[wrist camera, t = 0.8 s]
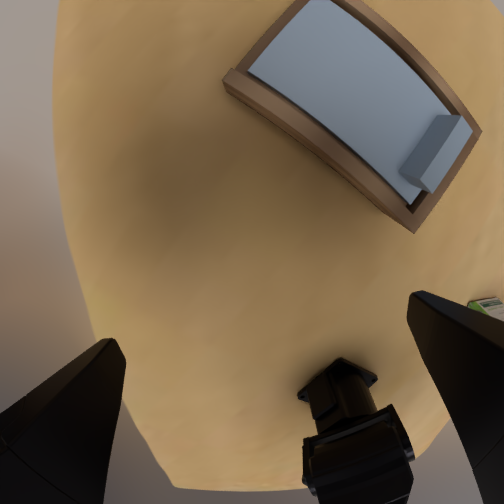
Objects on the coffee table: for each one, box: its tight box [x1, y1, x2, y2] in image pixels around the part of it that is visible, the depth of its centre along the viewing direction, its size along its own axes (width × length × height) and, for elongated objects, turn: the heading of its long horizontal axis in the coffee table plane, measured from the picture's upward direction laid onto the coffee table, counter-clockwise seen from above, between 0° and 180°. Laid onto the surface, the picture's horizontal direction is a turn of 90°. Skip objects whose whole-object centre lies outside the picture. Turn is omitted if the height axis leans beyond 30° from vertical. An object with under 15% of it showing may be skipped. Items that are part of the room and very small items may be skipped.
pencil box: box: [222, 0, 482, 234], centre depth 15 cm, size 14×9×5 cm, turn 55°
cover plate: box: [247, 0, 473, 205], centre depth 12 cm, size 12×7×3 cm, turn 55°
